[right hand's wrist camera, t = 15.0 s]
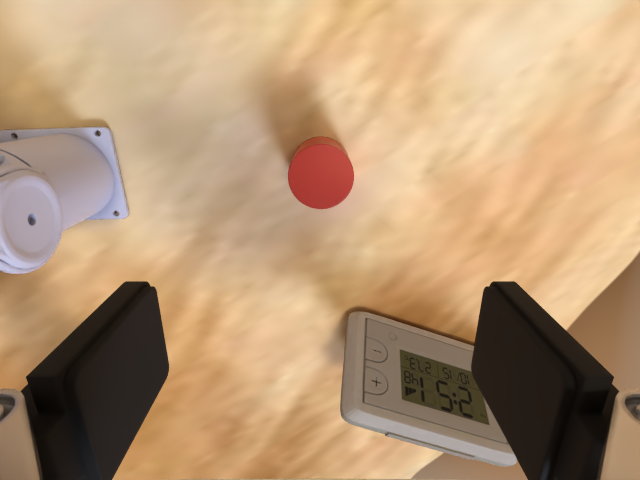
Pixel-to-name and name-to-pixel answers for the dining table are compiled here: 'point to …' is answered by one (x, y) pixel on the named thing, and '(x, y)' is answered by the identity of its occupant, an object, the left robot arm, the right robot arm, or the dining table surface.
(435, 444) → the digital clock
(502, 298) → the right robot arm
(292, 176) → the can
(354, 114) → the dining table surface
